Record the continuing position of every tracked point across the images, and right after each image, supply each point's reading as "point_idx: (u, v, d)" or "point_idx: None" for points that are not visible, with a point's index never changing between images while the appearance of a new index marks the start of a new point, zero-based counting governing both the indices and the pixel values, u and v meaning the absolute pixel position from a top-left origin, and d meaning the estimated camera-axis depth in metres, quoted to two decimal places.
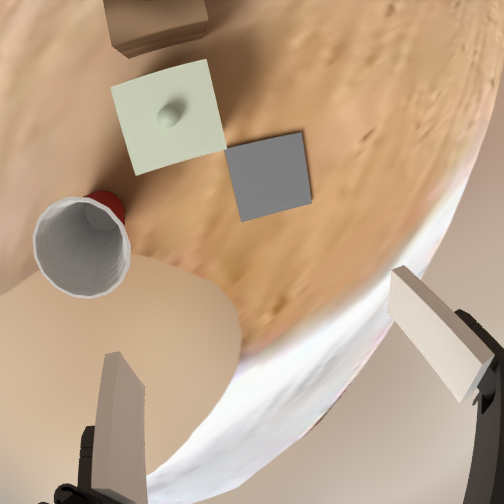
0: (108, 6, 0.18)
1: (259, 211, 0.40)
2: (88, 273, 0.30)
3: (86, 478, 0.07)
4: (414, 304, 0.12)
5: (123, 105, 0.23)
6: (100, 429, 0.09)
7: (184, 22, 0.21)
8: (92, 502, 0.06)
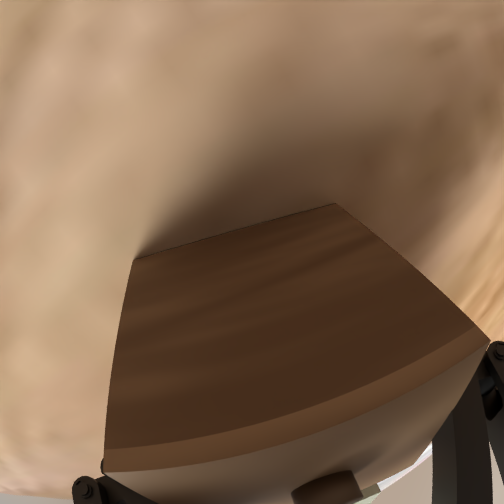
0: None
1: None
2: None
3: None
4: None
5: None
6: None
7: (372, 484, 0.09)
8: None
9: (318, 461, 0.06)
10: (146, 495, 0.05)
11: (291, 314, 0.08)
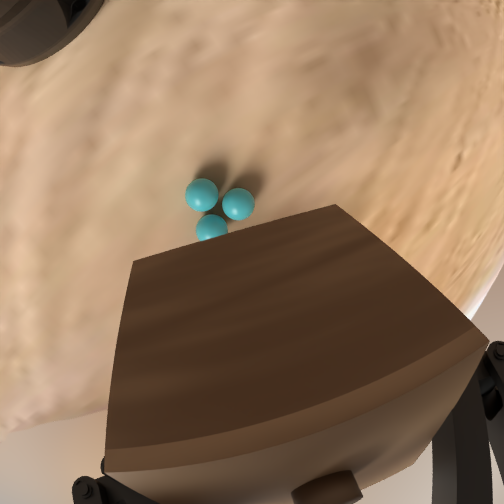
0: None
1: None
2: None
3: None
4: None
5: None
6: None
7: (371, 484, 0.09)
8: None
9: (318, 461, 0.06)
10: (147, 495, 0.05)
11: (290, 315, 0.08)
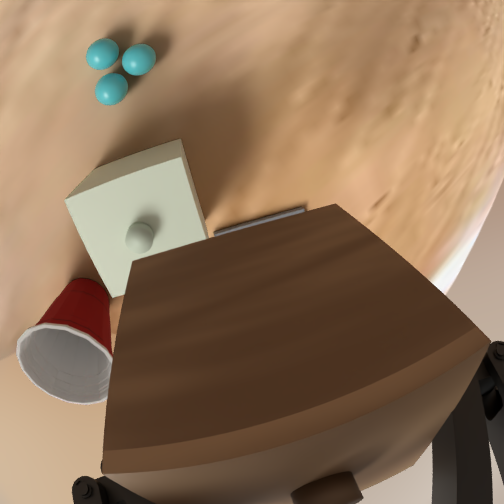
0: None
1: None
2: (79, 374, 0.27)
3: None
4: None
5: (83, 222, 0.20)
6: None
7: (371, 485, 0.09)
8: None
9: (318, 462, 0.06)
10: (145, 496, 0.05)
11: (290, 315, 0.08)
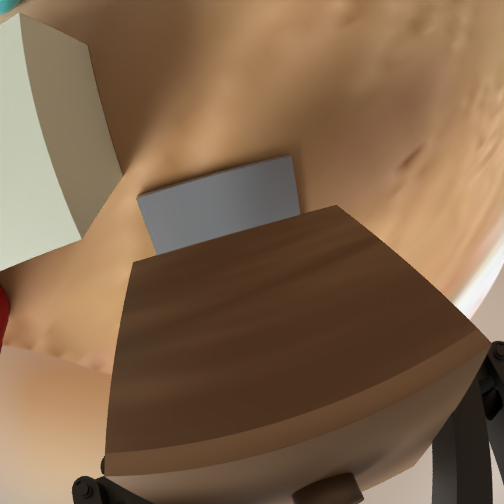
0: None
1: None
2: None
3: None
4: None
5: None
6: None
7: (372, 486, 0.09)
8: None
9: (319, 464, 0.06)
10: (147, 498, 0.05)
11: (292, 317, 0.08)
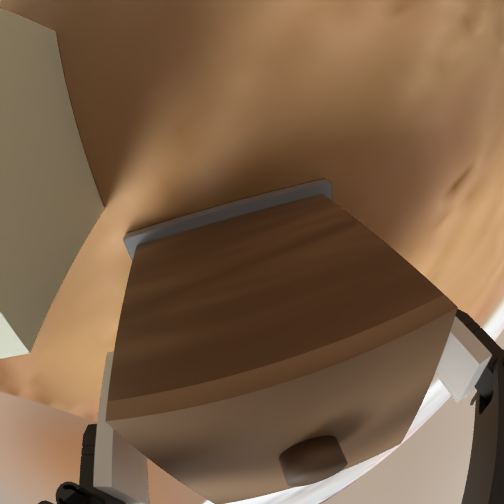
0: (189, 479, 0.08)
1: None
2: None
3: (88, 477, 0.07)
4: None
5: None
6: (102, 427, 0.09)
7: (360, 461, 0.11)
8: (94, 500, 0.06)
9: (300, 417, 0.07)
10: (143, 451, 0.07)
11: (276, 284, 0.09)
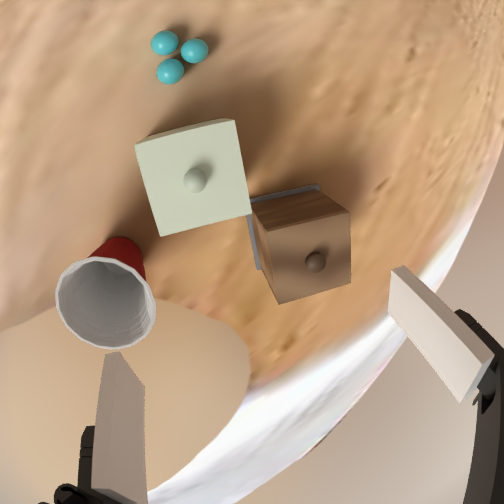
0: (277, 270, 0.32)
1: None
2: (110, 322, 0.31)
3: (86, 478, 0.07)
4: (414, 304, 0.12)
5: (147, 165, 0.25)
6: (100, 429, 0.09)
7: (334, 286, 0.34)
8: (92, 502, 0.06)
9: (311, 238, 0.31)
10: (270, 248, 0.30)
11: (302, 209, 0.33)
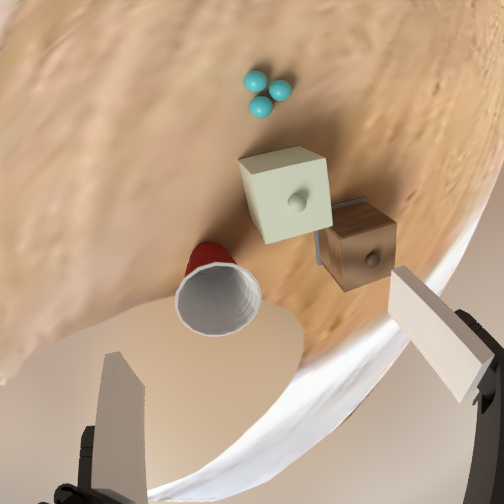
0: (346, 266, 0.41)
1: None
2: (211, 315, 0.41)
3: (86, 479, 0.07)
4: (413, 304, 0.12)
5: (261, 190, 0.34)
6: (100, 429, 0.09)
7: (382, 277, 0.44)
8: (92, 502, 0.06)
9: (370, 242, 0.40)
10: (343, 250, 0.40)
11: (361, 220, 0.42)
